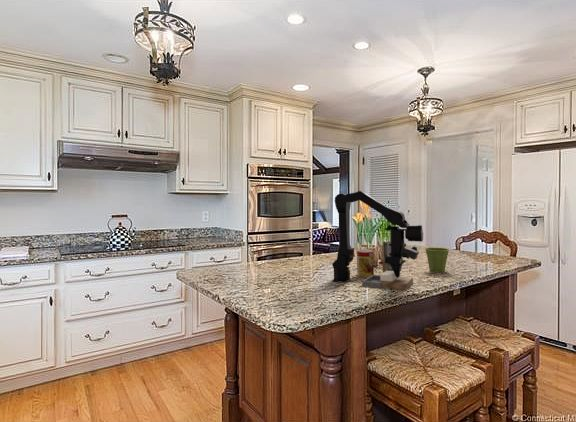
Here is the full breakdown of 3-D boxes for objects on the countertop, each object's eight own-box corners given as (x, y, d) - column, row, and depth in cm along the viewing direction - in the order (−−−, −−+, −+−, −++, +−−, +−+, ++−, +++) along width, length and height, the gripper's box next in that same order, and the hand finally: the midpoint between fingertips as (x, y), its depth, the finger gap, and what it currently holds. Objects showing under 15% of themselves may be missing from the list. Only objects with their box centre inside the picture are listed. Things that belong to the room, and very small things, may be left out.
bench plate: (381, 287, 152) (381, 281, 152) (389, 281, 163) (389, 275, 163) (406, 289, 147) (406, 283, 147) (412, 283, 158) (412, 277, 158)
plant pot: (425, 272, 181) (425, 250, 181) (424, 268, 192) (423, 247, 192) (451, 273, 177) (451, 250, 177) (448, 269, 189) (448, 247, 188)
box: (362, 285, 155) (362, 281, 155) (372, 279, 168) (372, 274, 168) (381, 287, 151) (381, 282, 151) (390, 280, 164) (390, 276, 164)
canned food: (375, 276, 173) (375, 251, 173) (358, 277, 173) (358, 252, 173) (371, 273, 181) (371, 249, 181) (356, 273, 181) (355, 249, 181)
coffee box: (400, 276, 172) (400, 242, 172) (387, 277, 172) (386, 243, 172) (395, 273, 181) (395, 240, 181) (382, 273, 181) (382, 241, 181)
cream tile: (380, 280, 154) (380, 274, 154) (386, 276, 162) (386, 270, 162) (392, 281, 151) (392, 275, 151) (398, 277, 160) (397, 271, 160)
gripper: (412, 244, 142) (412, 283, 143) (421, 239, 158) (421, 275, 159) (383, 242, 148) (384, 281, 148) (395, 238, 164) (395, 272, 164)
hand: (397, 277), depth 155 cm, fingers closed, pressing on cream tile
